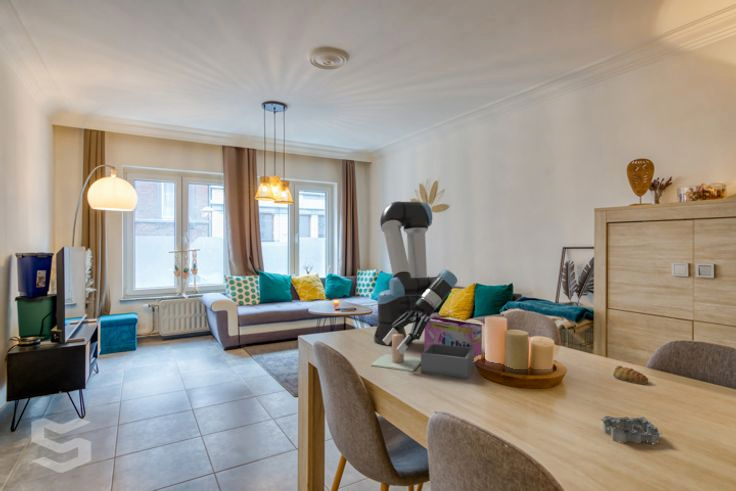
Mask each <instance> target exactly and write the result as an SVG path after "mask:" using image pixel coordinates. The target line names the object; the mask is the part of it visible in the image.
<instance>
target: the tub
mask: <svg viewBox="0 0 736 491" xmlns="http://www.w3.org/2000/svg"><path fill="white" fill-rule="evenodd" d="M420 358H421V364H420V374H426V375H432V376H439V377H447V378H452V379H460V380H468V379H469V377H470V375H471V373H472V372H473V370H474V368H475V362H473V361H474V348H470V347H461V346H452V345H443V344H434V343H431V344H430V345H429V346H428V347H427V348H426V349H425V350H424V349H423V351H421V353H420Z"/></svg>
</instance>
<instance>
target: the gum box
mask: <svg viewBox="0 0 736 491" xmlns="http://www.w3.org/2000/svg"><path fill="white" fill-rule="evenodd" d="M423 333H424V338H423V339H424V340H423V342H424V345H423V346H424V349H423V351H424V350H425V349H426V348H427V347H428V346H429V345H430V344H431V343H434V344H443V345H452V346H461V347H470V348H474V358H475V357H476V356H478V355H481V354H482V355H483V352H482V351H483V350H482V349H483V348H482V347H483V345H482V344H483V335H482V334H483V325H482V324H478V323H474V322H468V321H461V320H455V319H449V318H444V317H438V316H432V317H431V318H430V320H429V321H428V323H427V324H426V326H425V329H424V331H423Z"/></svg>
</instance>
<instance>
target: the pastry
mask: <svg viewBox="0 0 736 491" xmlns="http://www.w3.org/2000/svg"><path fill="white" fill-rule="evenodd" d="M612 375H613V376H614V378H615V379H617V380H622V381H624V382H627V383H630V384H631V383H632V384H636V385H637V384H639V385H645V384H648V382H649V378H648V377H647V376H646V375H644V374H643V373H641V372H639V371H637V370H635V369H633V368H629V367H627V366H625V367H624V366H622V365H617V366H616V367H615V368H614V370H613V373H612Z"/></svg>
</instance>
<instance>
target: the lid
mask: <svg viewBox="0 0 736 491" xmlns="http://www.w3.org/2000/svg"><path fill="white" fill-rule="evenodd" d="M403 340H404V335H403V334H393V335H392V345H391V353H392V354H388V353H384V354H383V355H381V357H379V358H378V359H376V360H375V361H374V362H372V363H371V367H376V368H383V369H389V370H391V369H392V370H396V371H404V372H411V373H413V372H414V371H415V370H416V369H417V368H418V367H419V366H421V357H414V356H413V357H412V356H405V351H404V352H403V354H401V353H400V352H399V351H398V350H397V348H398V346H399V345H400V344H401V343H402V341H403Z"/></svg>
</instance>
